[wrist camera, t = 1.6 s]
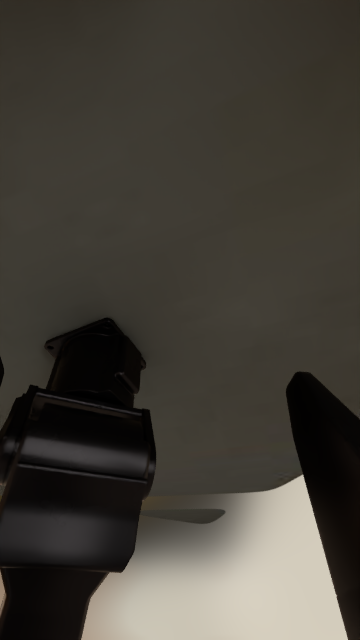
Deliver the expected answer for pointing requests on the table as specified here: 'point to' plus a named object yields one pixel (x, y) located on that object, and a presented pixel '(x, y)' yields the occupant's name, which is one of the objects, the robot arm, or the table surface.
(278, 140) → the table surface
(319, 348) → the table surface
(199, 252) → the table surface
